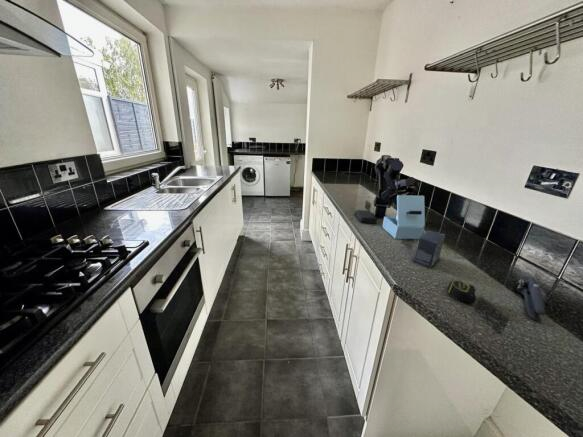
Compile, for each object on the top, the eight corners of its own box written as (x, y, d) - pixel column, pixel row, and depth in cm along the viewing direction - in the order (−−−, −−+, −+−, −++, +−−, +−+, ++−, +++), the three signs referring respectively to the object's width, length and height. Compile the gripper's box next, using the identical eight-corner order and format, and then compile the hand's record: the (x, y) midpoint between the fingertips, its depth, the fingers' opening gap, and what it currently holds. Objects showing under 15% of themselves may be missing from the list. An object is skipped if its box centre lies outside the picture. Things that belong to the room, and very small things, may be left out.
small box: (421, 252, 95) (428, 229, 91) (439, 258, 91) (446, 234, 87) (412, 261, 88) (418, 236, 84) (430, 268, 84) (438, 243, 80)
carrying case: (379, 224, 122) (371, 214, 135) (380, 219, 121) (372, 209, 134) (359, 223, 122) (353, 213, 135) (360, 218, 121) (354, 209, 134)
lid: (397, 195, 105) (402, 194, 101) (423, 196, 106) (429, 194, 102) (397, 226, 104) (402, 226, 100) (423, 226, 105) (430, 226, 101)
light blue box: (382, 226, 119) (384, 216, 117) (405, 227, 120) (407, 216, 118) (395, 238, 106) (397, 227, 104) (420, 238, 107) (424, 227, 105)
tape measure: (472, 308, 66) (477, 297, 64) (445, 297, 70) (448, 287, 68) (473, 295, 71) (477, 285, 70) (447, 286, 75) (450, 276, 73)
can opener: (512, 285, 77) (519, 270, 75) (542, 294, 73) (550, 280, 70) (515, 315, 64) (524, 298, 62) (551, 328, 60) (562, 311, 58)
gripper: (390, 171, 104) (405, 202, 99) (419, 170, 112) (434, 198, 107) (375, 184, 114) (387, 213, 109) (402, 182, 121) (415, 209, 116)
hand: (406, 208), depth 110 cm, fingers closed on bottle, 5 cm apart
